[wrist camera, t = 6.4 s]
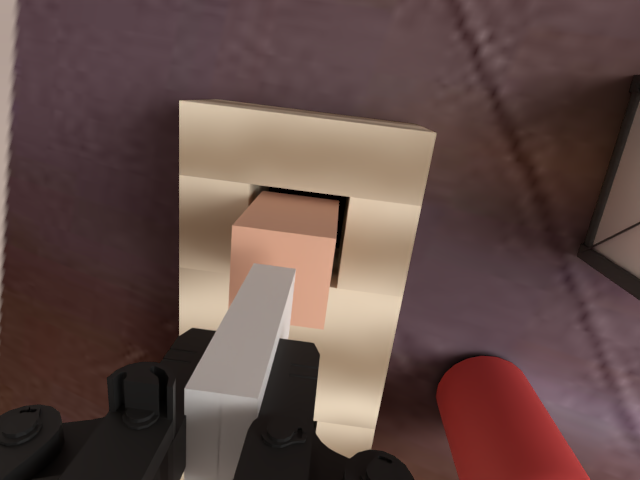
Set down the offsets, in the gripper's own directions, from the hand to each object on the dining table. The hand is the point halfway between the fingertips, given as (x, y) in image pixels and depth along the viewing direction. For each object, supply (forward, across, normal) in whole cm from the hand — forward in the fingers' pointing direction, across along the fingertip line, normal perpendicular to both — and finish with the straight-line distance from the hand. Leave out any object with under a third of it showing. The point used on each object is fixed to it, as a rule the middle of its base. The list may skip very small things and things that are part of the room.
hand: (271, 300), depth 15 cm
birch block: (+13, 0, -7) cm, 14 cm away
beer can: (+13, +14, -12) cm, 23 cm away
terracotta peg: (+8, 0, 0) cm, 8 cm away
